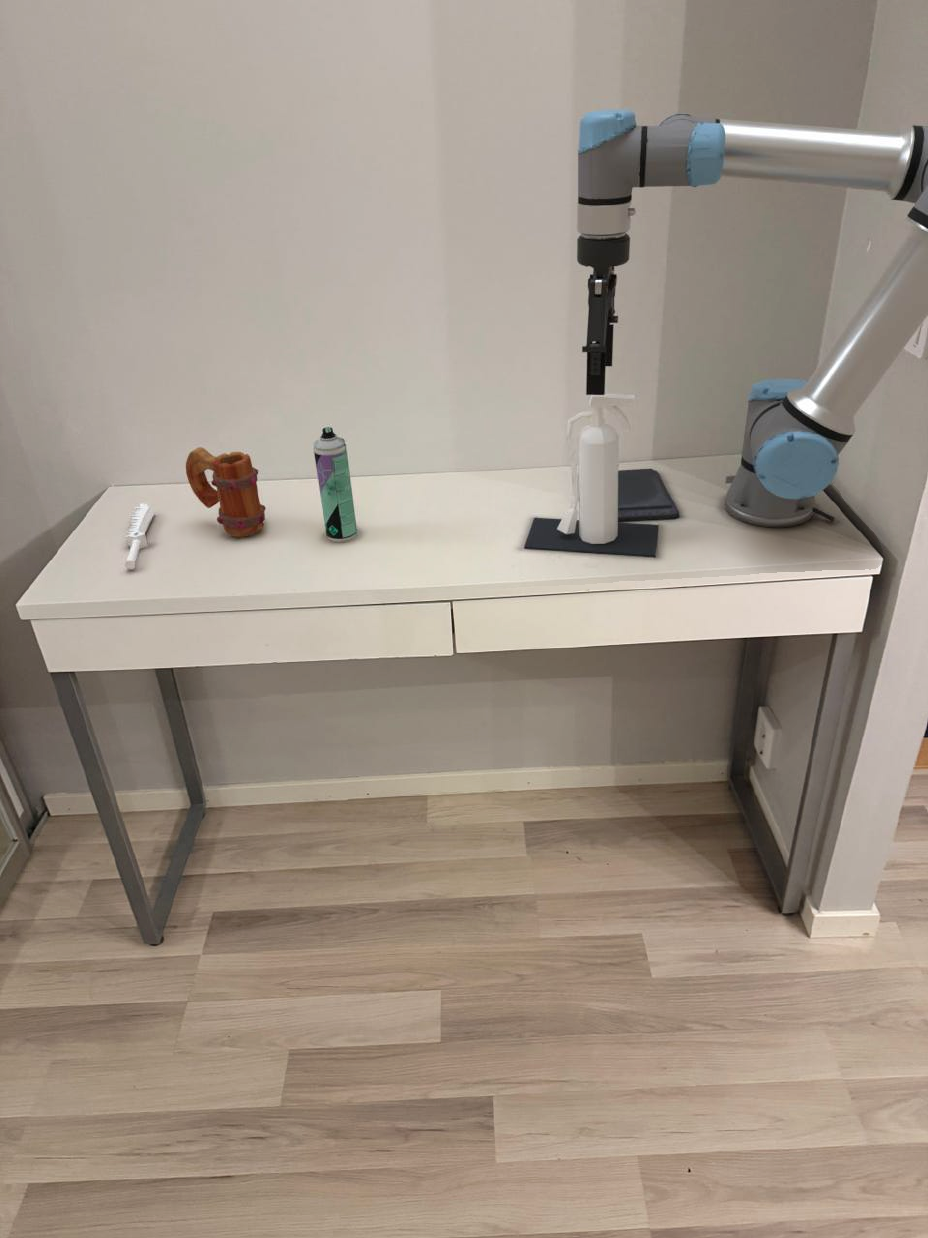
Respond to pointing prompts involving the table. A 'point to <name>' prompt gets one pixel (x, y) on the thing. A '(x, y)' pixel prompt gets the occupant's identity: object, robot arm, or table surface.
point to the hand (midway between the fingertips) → (599, 379)
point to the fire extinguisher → (596, 471)
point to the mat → (627, 542)
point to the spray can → (335, 487)
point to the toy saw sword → (138, 532)
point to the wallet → (643, 496)
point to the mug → (228, 489)
